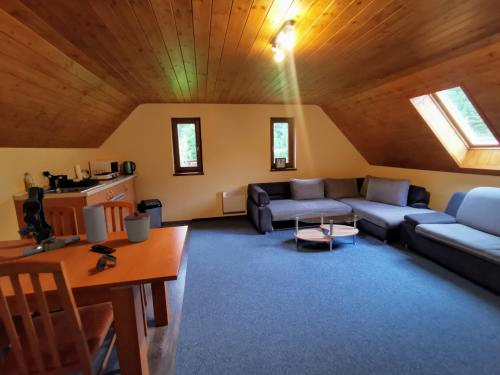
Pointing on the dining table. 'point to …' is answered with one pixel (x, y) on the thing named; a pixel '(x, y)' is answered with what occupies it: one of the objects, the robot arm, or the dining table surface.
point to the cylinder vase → (95, 223)
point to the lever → (43, 240)
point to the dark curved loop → (102, 261)
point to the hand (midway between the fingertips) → (39, 244)
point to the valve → (51, 245)
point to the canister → (137, 226)
